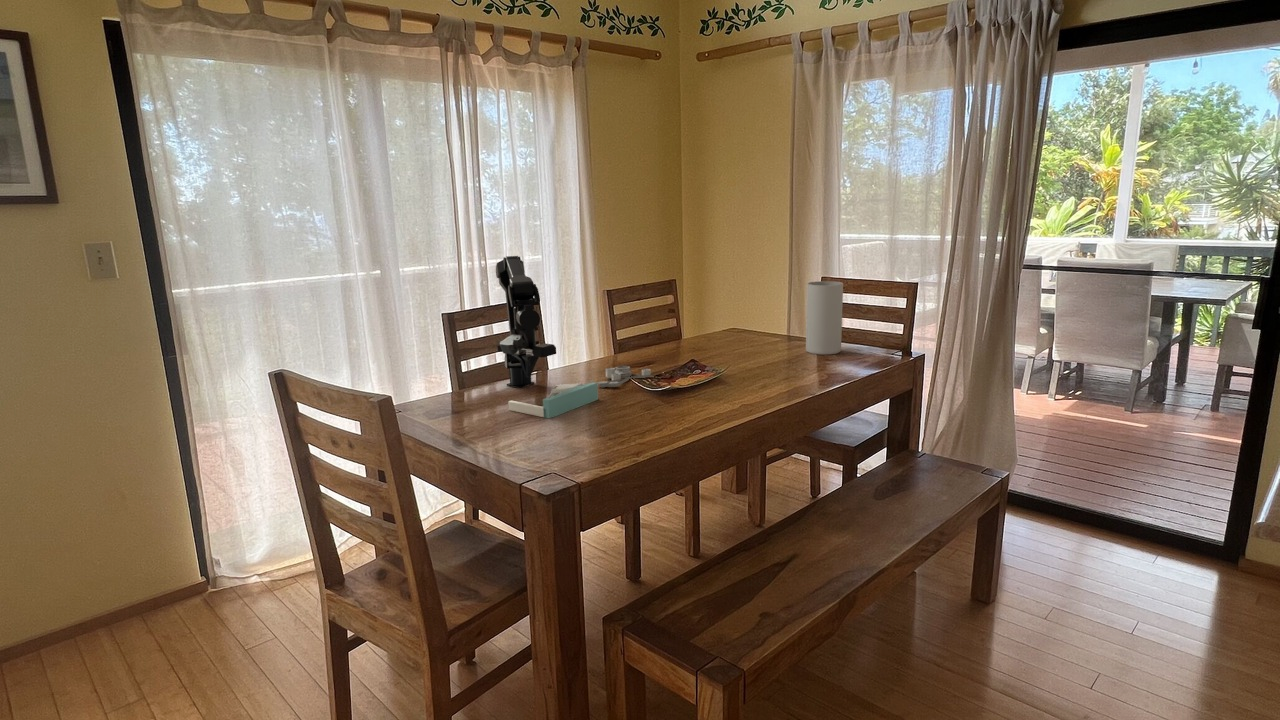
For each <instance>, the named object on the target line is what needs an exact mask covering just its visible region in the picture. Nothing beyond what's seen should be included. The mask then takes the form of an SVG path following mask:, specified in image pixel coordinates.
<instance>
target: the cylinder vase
mask: <svg viewBox="0 0 1280 720" xmlns="http://www.w3.org/2000/svg"><path fill="white" fill-rule="evenodd" d="M843 295H844V283H843V282H841V281H829V280H821V281H810V282H807V283H806V318H805V319H806V323H805V324H806V325H805V327H806V328H805V331H806V332H805V338H806V339H805V350H806V352H807V353H809V354H813V355H823V356H824V355H836V354H839V353H840V352H841V351H842V333H843V301H844V300H843V299H844V298H843V297H844V296H843Z"/></svg>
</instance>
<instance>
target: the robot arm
mask: <svg viewBox="0 0 1280 720" xmlns="http://www.w3.org/2000/svg"><path fill="white" fill-rule="evenodd" d="M525 273H526V272H525V266H524V261H523V260H522V259H521V256H519V255H511V256H509V255H508V256H504V257H503V258H502V260H500V261H498V262H497V263H496V264H495V276H496V277H495V278H496V279H498V283H499V286H501V288H502V289H503V291H504V293H505V301H506V309H507V312H506V313H507V318H508V328H509V336H507V337H506V338H505V339H503V340H500V341H499V342H498V344H497V352H499V353H502V354H504V359H503V360H504V366H505V368H506V369H507V370H508V372H509V373H508V374H509V383H506V386H507V387H513V388H519V389H523V388H525V387H529V386H532V385H534V384H535V382H534V381H532V374H533V372H534V369H535V366H536V364H537V362H538V360H539V358H546V357H550V356H554V355H556V354H557V347H556V345H555V344H553V343H552V344H551V343H542V344H540V341H539V340H537V338H536V336H537V335H536V331H539V324H540V323H541V317H540V314H539V312H537V311H536V310H535V306H539V305H540V302H541V297H540V293H539V288H538V287H537V284H536V283H534V280H533V279H532V278H531V277H529V276H527V275H526V274H525Z"/></svg>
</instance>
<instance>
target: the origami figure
mask: <svg viewBox="0 0 1280 720" xmlns="http://www.w3.org/2000/svg"><path fill="white" fill-rule="evenodd" d="M559 385H560V386H558V387H557V388H556V387H555V388H553V389H551V391H550V394H549V395H548V396H547V397H546V398H549V397H551V396H554V395H555V394H556V392H559V394H560V393H562V391H568V390H571V389H574V388H577V387H580V386H583V383H582V382H581V383H565V384H564V383H561V384H559Z"/></svg>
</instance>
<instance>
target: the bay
mask: <svg viewBox="0 0 1280 720" xmlns="http://www.w3.org/2000/svg"><path fill="white" fill-rule="evenodd" d="M560 385H561V384H555V388H557V387H558V386H560ZM598 389H599V386H598V382H593V381H592V382H588V383H584V384H582V386H580V387H577V388H574V389H571V390H568V391H562V393H560V394H559V392H555V394H553V395H552V396H551V397H549V398H547V397H545V398H543V399H542V406H540V405H537V404H530V403H528V402H521V401H517V400H516V401H515V400H508V410H509V411H512V412H517V413H521V414H527V415H531V416H535V417H536V416H537V417H541V418H546V419H551V418H554V417H556V416H560V415H562V414H565V413H567V412H570V411H572V410H575V409H577V408H579V407H582V406H585V405H588V404H590V403H593V402H595V401H598V400H599V393H598V392H599V391H598Z"/></svg>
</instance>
